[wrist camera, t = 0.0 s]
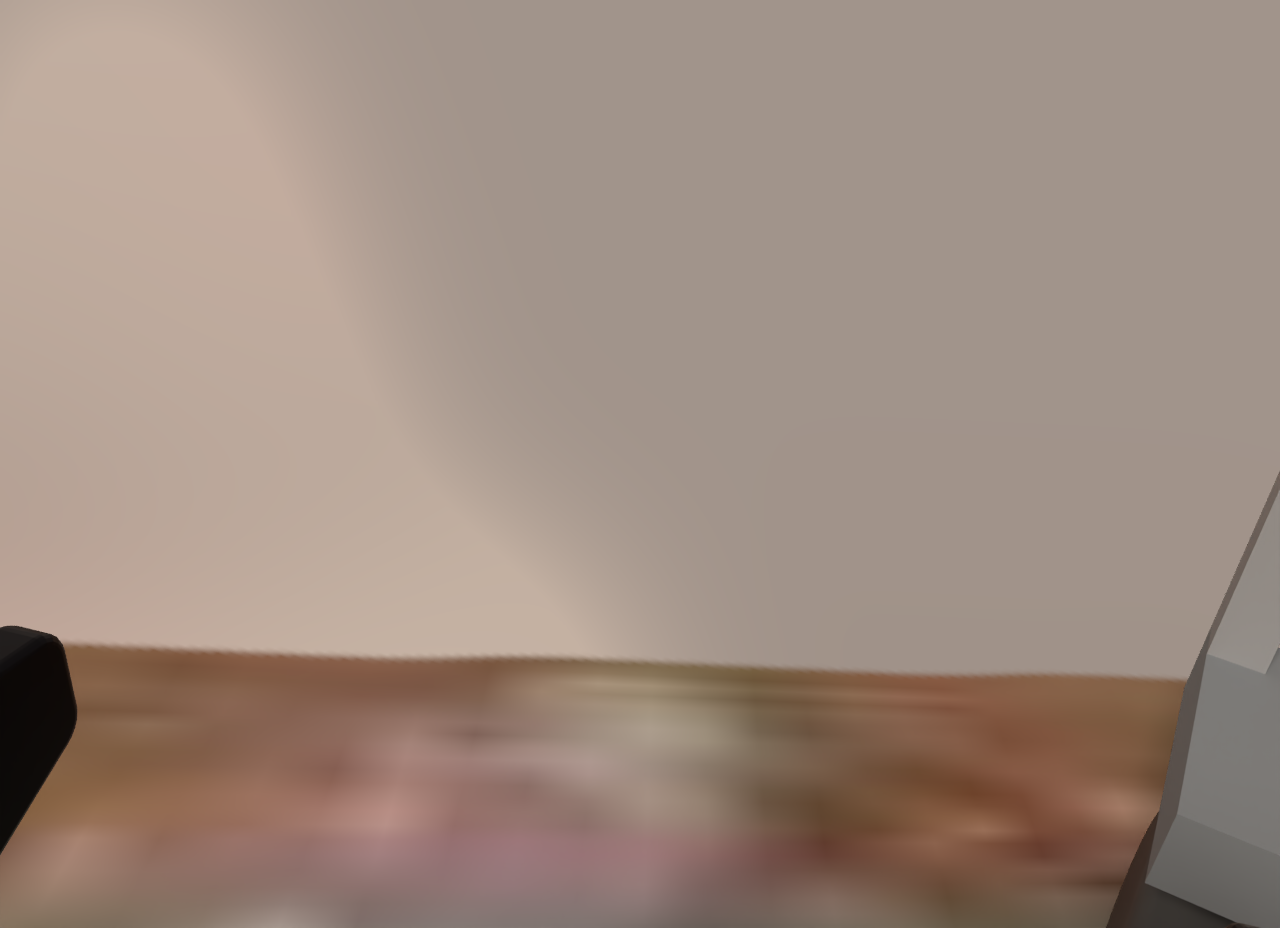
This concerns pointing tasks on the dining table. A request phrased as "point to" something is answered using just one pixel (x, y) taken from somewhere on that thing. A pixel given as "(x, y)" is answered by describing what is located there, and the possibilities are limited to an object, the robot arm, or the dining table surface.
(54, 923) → the dining table surface
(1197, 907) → the trolley
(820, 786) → the dining table surface
